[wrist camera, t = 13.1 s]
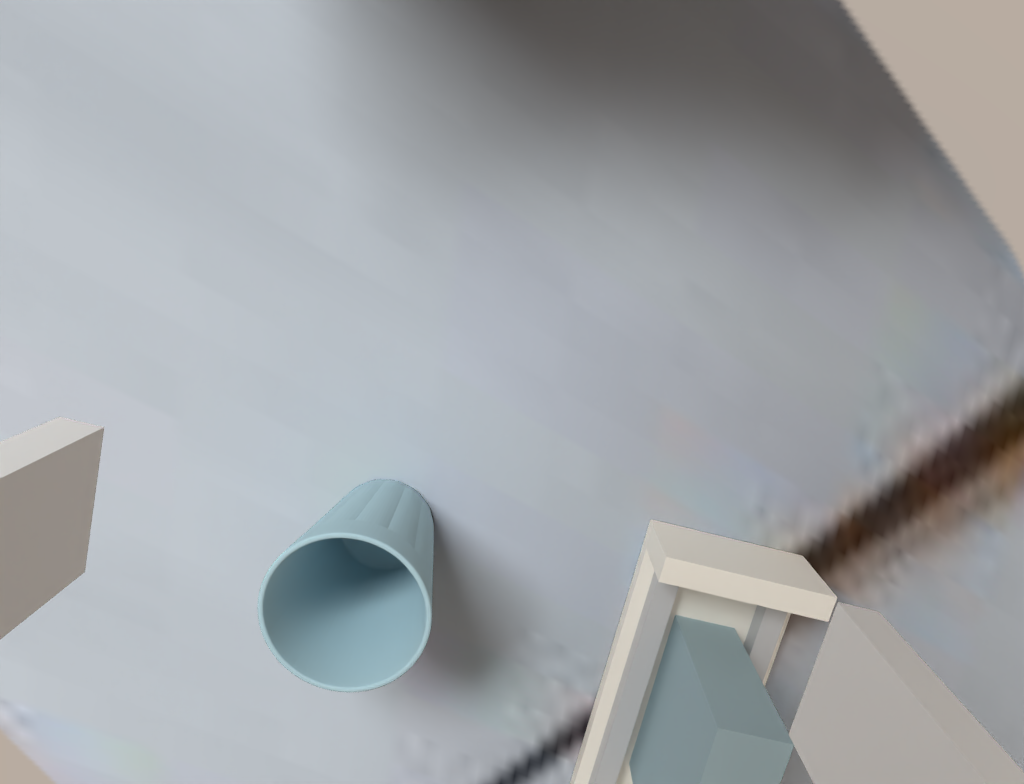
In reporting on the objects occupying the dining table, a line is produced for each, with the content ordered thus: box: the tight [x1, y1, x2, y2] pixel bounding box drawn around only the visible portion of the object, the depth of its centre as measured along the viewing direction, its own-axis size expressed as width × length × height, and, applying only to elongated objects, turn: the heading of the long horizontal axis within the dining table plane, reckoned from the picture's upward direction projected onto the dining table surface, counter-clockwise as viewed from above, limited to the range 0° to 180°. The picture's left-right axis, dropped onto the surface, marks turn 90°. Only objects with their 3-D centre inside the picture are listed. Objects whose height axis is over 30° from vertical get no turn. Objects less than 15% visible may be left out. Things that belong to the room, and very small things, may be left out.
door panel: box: [629, 615, 794, 784], centre depth 40 cm, size 10×4×10 cm, turn 167°
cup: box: [258, 479, 434, 692], centre depth 39 cm, size 8×8×10 cm
